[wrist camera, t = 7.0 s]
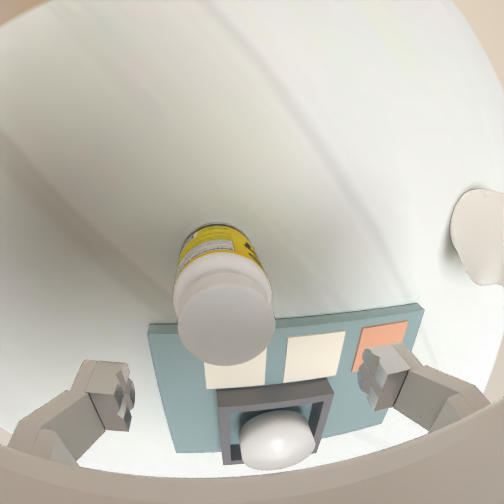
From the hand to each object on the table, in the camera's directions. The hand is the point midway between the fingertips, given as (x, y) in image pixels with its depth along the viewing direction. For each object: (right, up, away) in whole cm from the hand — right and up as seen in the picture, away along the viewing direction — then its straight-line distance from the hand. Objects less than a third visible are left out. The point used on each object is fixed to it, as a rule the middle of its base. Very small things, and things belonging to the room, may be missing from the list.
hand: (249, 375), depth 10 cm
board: (+4, -8, +15) cm, 18 cm away
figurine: (+20, +6, +13) cm, 24 cm away
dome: (+2, -11, +15) cm, 18 cm away
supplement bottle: (-2, +4, +10) cm, 11 cm away
